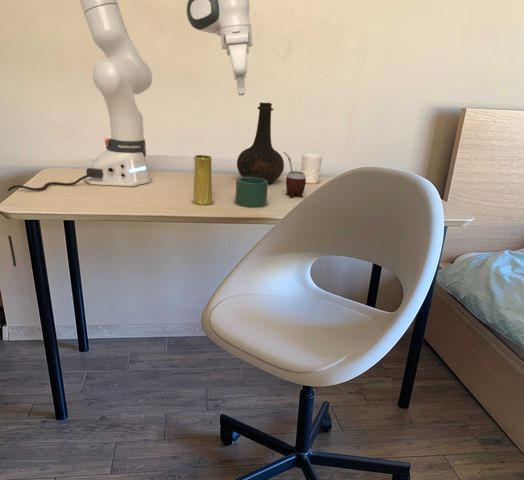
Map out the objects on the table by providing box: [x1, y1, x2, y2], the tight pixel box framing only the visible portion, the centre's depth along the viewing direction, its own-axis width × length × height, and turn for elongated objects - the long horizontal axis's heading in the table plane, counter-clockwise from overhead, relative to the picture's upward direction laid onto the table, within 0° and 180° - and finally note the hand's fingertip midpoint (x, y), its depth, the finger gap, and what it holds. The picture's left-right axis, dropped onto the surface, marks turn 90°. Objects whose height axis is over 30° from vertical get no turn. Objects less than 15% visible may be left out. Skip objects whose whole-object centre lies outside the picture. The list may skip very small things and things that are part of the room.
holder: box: [235, 176, 269, 208], centre depth 168 cm, size 10×10×8 cm
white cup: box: [300, 153, 323, 185], centre depth 202 cm, size 8×8×10 cm
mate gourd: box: [283, 151, 307, 199], centre depth 178 cm, size 8×8×15 cm
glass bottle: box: [236, 102, 285, 185], centre depth 192 cm, size 18×18×28 cm
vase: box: [192, 154, 213, 206], centre depth 163 cm, size 6×6×14 cm
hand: (241, 94), depth 150 cm, fingers open, 8 cm apart
